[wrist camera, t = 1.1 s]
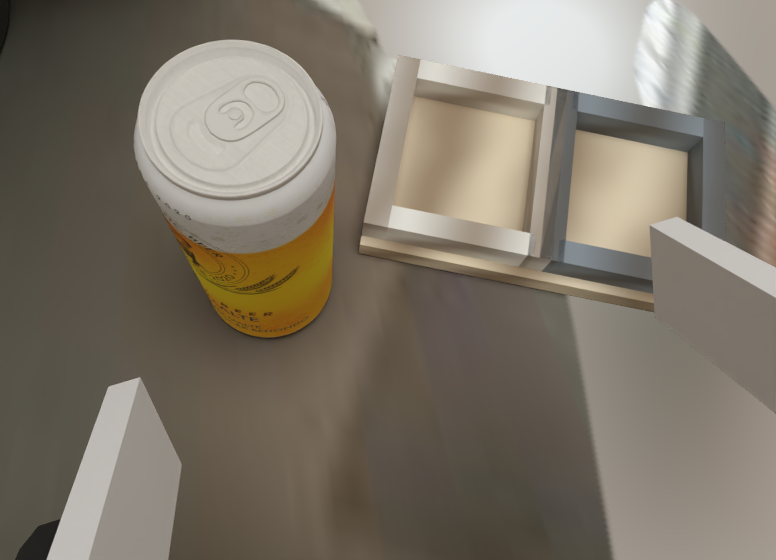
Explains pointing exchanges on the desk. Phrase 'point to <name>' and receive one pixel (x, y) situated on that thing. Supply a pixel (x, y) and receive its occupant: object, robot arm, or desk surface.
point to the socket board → (536, 182)
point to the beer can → (244, 179)
